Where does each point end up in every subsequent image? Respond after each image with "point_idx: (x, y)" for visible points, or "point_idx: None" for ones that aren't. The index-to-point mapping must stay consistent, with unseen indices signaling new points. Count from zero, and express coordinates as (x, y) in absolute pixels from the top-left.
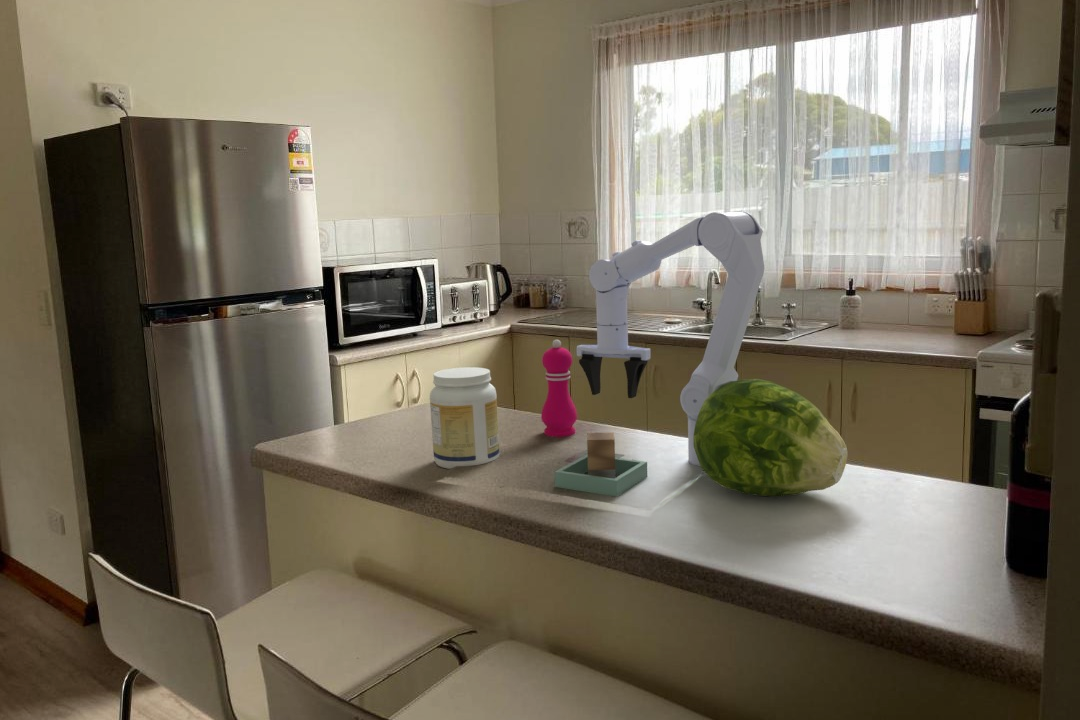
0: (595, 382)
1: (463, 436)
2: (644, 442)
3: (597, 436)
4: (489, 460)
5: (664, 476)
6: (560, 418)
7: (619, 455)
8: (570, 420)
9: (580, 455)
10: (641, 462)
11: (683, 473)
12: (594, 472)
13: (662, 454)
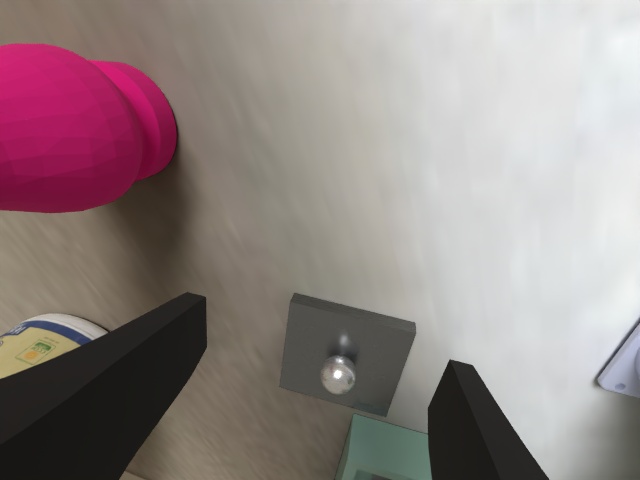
0: (155, 395)
1: None
2: (446, 108)
3: None
4: None
5: (545, 424)
6: (103, 203)
7: (402, 340)
8: (133, 174)
9: (297, 347)
10: None
11: (603, 405)
12: None
13: (534, 252)
